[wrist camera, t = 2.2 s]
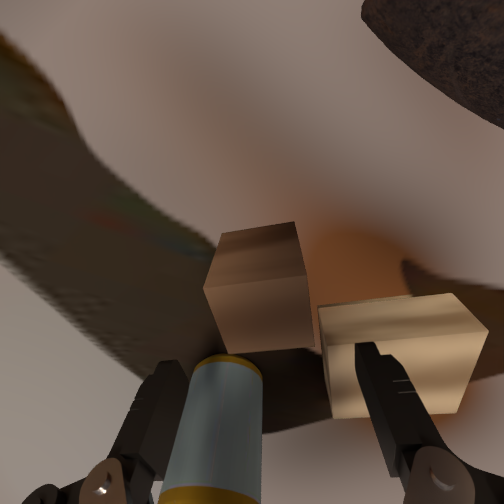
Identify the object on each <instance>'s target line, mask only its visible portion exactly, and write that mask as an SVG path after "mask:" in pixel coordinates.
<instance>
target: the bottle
mask: <svg viewBox="0 0 504 504" xmlns="http://www.w3.org/2000/svg"><path fill="white" fill-rule="evenodd" d="M262 390H263V383H262V375H261V373H260V371H259V369H258V368H257V367H256V366H255V365H254V364H253V363H252V362H251V361H250V360H248V359H246V358H244V357H242V356H239V355H235V354H224V353H222V354H216V355H212V356H210V357H208V358H206V359H204V360H203V361H201V362H200V363H199V364H198V365H197V366H196V367H195V369H194V372H193V375H192V378H191V382H190V385H189V390H188V395H187V399H186V402H185V406H184V410H183V413H182V417H181V420H180V424H179V428H178V431H177V435H176V439H175V442H174V446H173V450H172V453H171V457H170V460H169V464H168V468H167V471H166V475H165V479H164V481H163V485H162V488H161V492H160V495H159V501H158V504H261V459H262V455H261V454H262Z"/></svg>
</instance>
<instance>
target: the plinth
mask: <svg viewBox="0 0 504 504" xmlns="http://www.w3.org/2000/svg"><path fill="white" fill-rule="evenodd" d="M317 309H318V319H319V329H320V340H321V350H322V356H323V366H324V376H325V383H326V388H327V392H328V397H329V402H330V407H331V411H332V416H333V419H343V418H363V417H370V415H369V412H368V409H367V406H366V403H365V400H364V397H363V394H362V391H361V388H360V385H359V383H358V379H357V376H356V371H355V343H361V342H372V341H373V342H374V343H375V344H376V346H377V348H378V350H379V352H380V354H381V355H386V354H391V355H392V356H393V357H395V358H396V359H397V360H398V361H399V362H400V363H401V364H402V365H403V367H404V369H405V371H406V372H407V374H408V376H409V378H410V381H411V382H412V384H413V385H414V387H415V389H416V392H417V393H418V395H419V397H420V399H421V400H422V402H423V404H424V406H425V408H426V410H427V412H428V414H443V413H456V412H457V409H458V407H459V404H460V402H461V399H462V396H463V394H464V391H465V389H466V387H467V384H468V382H469V379H470V377H471V374H472V372H473V369H474V367H475V364H476V362H477V359H478V357H479V354H480V352H481V349H482V347H483V344H484V342H485V339H486V337H487V335H488V332H489V331H488V330H487V329H486V328H485V327H484V326H483V325H482V324H481V323H480V322H479V320H478V319H477V318H476V317H475V316H474V315H473V314H472V313H471V312H470V311H469V310H468V309H467V308H466V307H465V306H464V305H463V304H462V303H461V302H460V301H459V300H458V299H457V298H456V297H455V296H454V295H453V294H452V293H448V294H439V295H430V296H422V297H413V298H411V295H403V296H394V297H387V298H386V297H385V298H377V299H368V300H360V301H351V302H342V303H334V304H326V305H318V306H317Z"/></svg>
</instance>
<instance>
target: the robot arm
mask: <svg viewBox="0 0 504 504" xmlns="http://www.w3.org/2000/svg"><path fill="white" fill-rule="evenodd" d="M355 371H356V376H357V379H358V383H359V385H360V388H361V391H362V394H363V397H364V400H365V403H366V406H367V409H368V412H369V415H370V418H371V421H372V424H373V427H374V430H375V433H376V436H377V438H378V442H379V444H380V447H381V450H382V453H383V456H384V459H385V462H386V465H387V468H388V471H389V474H390V477H400V480H401V483H402V485H403V488H404V491H405V497H404V501H403V504H504V477H501V476H498V475H495V474H491V473H488V472H485V471H482V470H479V469H477V468H474V467H472V466H470V465H468V464H467V463H465V462H464V461H462V460H461V459H460V458H458V457H457V456H456V455H455V454H454V453H453V452H452V451H451V450H450V449H449V448H448V447H447V445H446V444H445V443H444V441H443V440H442V438H441V436H440V434H439V432H438V430H437V429H436V427H435V425H434V423H433V421H432V420H431V417H430V416H429V414H428V412H427V410H426V408H425V406H424V404H423V402H422V400H421V399H420V397H419V395H418V393H417V392H416V389H415V387H414V385H413V384H412V382H411V381H410V378H409V376H408V374H407V372H406V371H405V369H404V367H403V365H402V364H401V363H400V362H399V361H398V360H397V359H396V358H395V357H393V356H392V355H391V354H386V355H381V354H380V352H379V350H378V348H377V346H376V344H375V343H374V342H373V341H372V342H361V343H355ZM188 390H189V382H188V378H187V376H186V375H185V373H184V371H183V369H182V367H181V365H180V363H179V362H178V360H168V361H160V362H159V363H158V365H157V367H156V369H155V372H154V374H152V375H149V376H148V377H147V378H146V379H145V381H144V382H143V383H142V384H141V386H140V388H139V390H138V392H137V394H136V396H135V400H134V401H133V403H132V405H131V407H130V411H129V412H128V414H127V416H126V418H125V420H124V423H123V425H122V427H121V429H120V431H119V433H118V436H117V438H116V440H115V442H114V445H113V447H112V449H111V451H110V453H109V455H108V456H107V458H106V459H105V460H103V461H101V462H100V463H99V464H97V465H96V466H95V467H94V468H93V469H92V470H91V472H90V473H89V474H88V476H87V477H85V478H83V479H81V480H79V481H77V482H74V483H72V484H70V485H68V486H65V487H63V488H61V489H59V488H57V487H56V486H55V485H53V484H46V485H43V486H41V487H39V488H38V489H36V490H35V491H34V492H32V493H31V494H30V495H29V496H28V497H27V498H26V499H25V500H24V501H23V502H22V504H154V502H153V498H152V494H151V488H152V485H153V481H164V479H165V475H166V471H167V468H168V464H169V460H170V457H171V453H172V450H173V446H174V442H175V439H176V435H177V431H178V428H179V424H180V420H181V417H182V413H183V410H184V406H185V402H186V399H187V395H188Z"/></svg>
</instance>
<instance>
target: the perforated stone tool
mask: <svg viewBox="0 0 504 504" xmlns="http://www.w3.org/2000/svg"><path fill="white" fill-rule="evenodd" d="M361 18H362V20H363V21H364V22H365V23H366V24H367V26H368V27H369V28H370V29H371V30H372V32H374V34H376V36H377V37H378V38H379V39H380V40H381V41H382V42H383V43H384V44H385V46H386V47H387V48H388V49H389V50H390V51H392V53H393V54H395V55H396V56H397V57H398V58H399V59H401V60H402V61H403V62H404V63H405V64H407V66H409V67H410V68H411V69H412V70H413V71H414V72H416V73H417V74H418V75H419V76H421V77H422V78H423V79H425V80H426V81H427V82H429V83H430V84H432V85H433V86H434V87H436V88H437V89H439V90H440V91H441V92H443V93H444V94H445V95H447V96H448V97H450V98H451V99H452V100H454V101H455V102H457V103H458V104H460V105H461V106H463V107H465V108H467V109H468V110H470V111H471V112H473V113H475V114H477V115H478V116H480V117H481V118H483V119H485V120H487V121H489V122H490V123H493V124H495V125H496V126H498V127H501V128H502V129H504V0H365V1H364V3H363V5H362V11H361Z"/></svg>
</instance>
